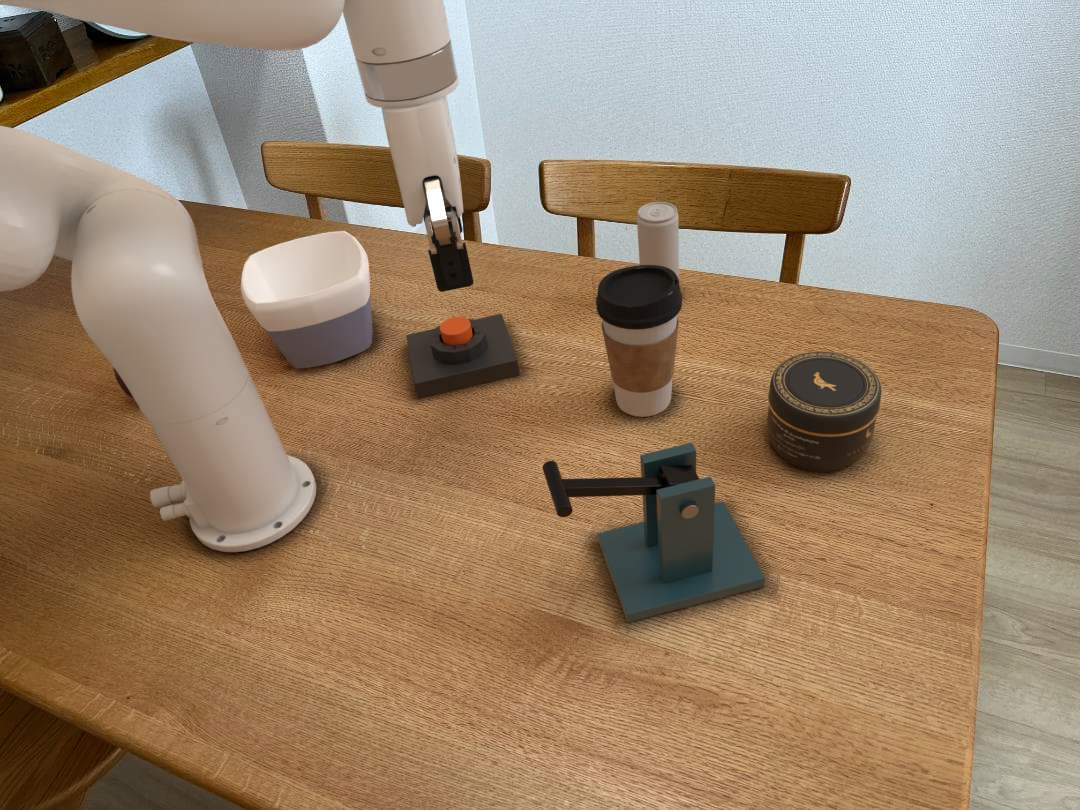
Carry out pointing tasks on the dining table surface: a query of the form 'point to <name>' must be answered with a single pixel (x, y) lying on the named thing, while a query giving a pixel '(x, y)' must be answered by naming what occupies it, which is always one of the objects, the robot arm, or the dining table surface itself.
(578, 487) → the lever
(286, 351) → the bowl
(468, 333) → the button
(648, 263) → the beverage can
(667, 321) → the coffee cup
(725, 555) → the lever base
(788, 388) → the jar
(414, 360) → the button block
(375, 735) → the dining table surface
